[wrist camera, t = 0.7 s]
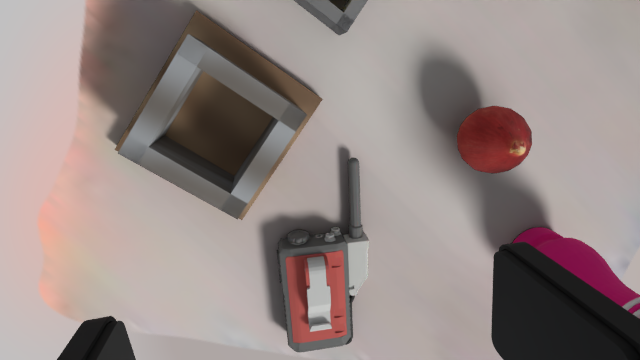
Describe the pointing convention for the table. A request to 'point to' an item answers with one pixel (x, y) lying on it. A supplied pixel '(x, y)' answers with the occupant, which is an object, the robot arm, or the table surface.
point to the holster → (334, 13)
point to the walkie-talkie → (324, 278)
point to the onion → (494, 139)
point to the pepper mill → (582, 265)
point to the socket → (217, 119)
